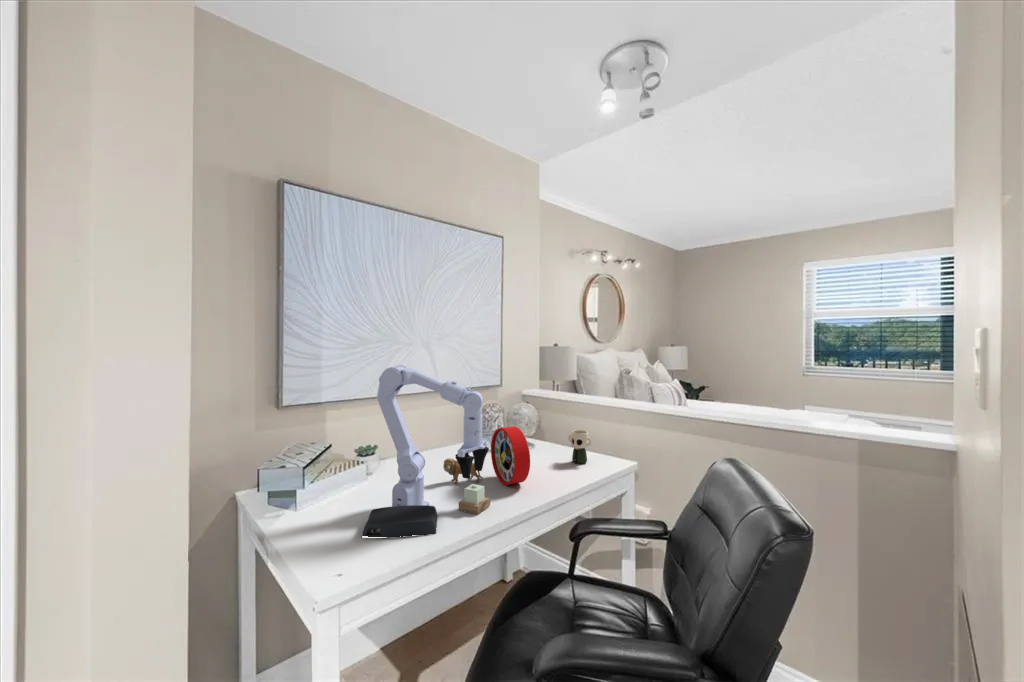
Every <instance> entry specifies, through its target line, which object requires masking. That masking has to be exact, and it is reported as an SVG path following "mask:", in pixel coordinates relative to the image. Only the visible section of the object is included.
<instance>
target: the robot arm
mask: <svg viewBox="0 0 1024 682" xmlns="http://www.w3.org/2000/svg"><path fill="white" fill-rule="evenodd" d="M378 383H379V384H378V391H377V395H376V396H377V397H376V398H377V402H378V404H379V407H380V411H381V412H382V415H383V417H384V421H385V422H386V426H387V429H388V431H389V434H390V437H391V439H392V441H393V443H394V447H395V449H396V462H397V466H398V467H397V474H398V476H399V479H398V482H396V484H394V485H393V487H392V491H391V493H392V494H391V502H392V503H391V505H392V506H404V505H428V506H429V505H430V502H429V501H426V500H425V499H424V497H425V494H424V493H425V491H424V488H425V486H424V485H425V484H424V483H425V482H424V479H425V478H424V477H425V475H424V473H423V469H424V468H425V466H426V459H425V456H424V455H423V454H421V453H420V451H419V449H418V447H417V446H416V445H415V444H414V443H413V440H412V437H411V435H410V432H409V429H408V427H407V424H406V420H405V419H404V417H403V413H402V411H401V408H400V405H399V403H398V400H397V396H398V394H399V392H400V391H401V389H402V388H403V387H404V386H406V385H407V386H408V385H418V386H420V387H423V388H426V389H429V390H431V391H434V392H436V393H439V396H440V397H441V399H443V400H445V401H448V402H450V403H452V404H454V405H457V406H460V407H461V406H462V407H463V411H464V412H463V414H464V415H463V442H462V443H463V444H462V445H461V447H459V448H458V449H457V453H456V454H455V459H456V461H458V463H459V465H460V469H461V472H462V474H461V476H462V478H463V479H467V480H468V479H469V478H470V477H471V466H472V463H474V466H475V470H476V472H478V471H479V472H482V470H483V468H484V464H485V460H486V457H487V455H488V452H490V451H489V450H490V449H489V447H488V446H487V439H483V415H482V413H483V410H482V409H483V407H482V405H483V403H484V402H483V401H484V398H483V395H482V394H481V393H480V392H479V391H477V390H476V389H474V390H473V389H472V390H471V388H470V387H464V386H462V385H459V384H457V383H458V381H456V380H452V381H451V380H450V381H446V382H443V381H440V380H438V379H436V378H434V377H431V376H429V375H427V374H425V373H423V372H421V371H418V370H417V369H414V368H412V367H406V366H405V365H402V364H398V365H395V366H393V367H392V366H390V367H388V368H385V369H384V370H383V372H382V373H381V375H380V376H379V378H378ZM471 453H472V455H470V454H471ZM392 506H391V507H392Z"/></svg>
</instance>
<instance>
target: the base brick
mask: <svg viewBox="0 0 1024 682" xmlns="http://www.w3.org/2000/svg"><path fill="white" fill-rule="evenodd" d="M489 506H490V507H491V498H489V497H485V496H484V500H482V501H481V502H480V503H478V504H473V503H469V502H464V498H463V499H461V500H460V501H458V511H460V512H464V511H465V512H464V513H468V512H469V513H468V514H472V513H473V514H472V515H476V514H477V516H479V515H481V512H482V513H483V512H484V511H486V510H487V509H488V507H489ZM490 507H489V508H490ZM486 508H487V509H486ZM485 509H486V510H485ZM478 514H479V515H478Z"/></svg>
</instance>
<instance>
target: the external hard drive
mask: <svg viewBox="0 0 1024 682" xmlns="http://www.w3.org/2000/svg"><path fill="white" fill-rule="evenodd" d="M437 524H438V513H437V509H436V506H434V505H429V504H428V505H404V506H384V507H377V508H374V509H373V508H372V510H370V513H369V516H368V518H367V521H366V523H365V524H364V527H363V529H362V535H361V537H362V536H368V537H400V536H401V538H404V537H403V536H412V535H424V536H429V535H428V534H432V535H436V534H437V529H436V528H437V526H438V525H437Z"/></svg>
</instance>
